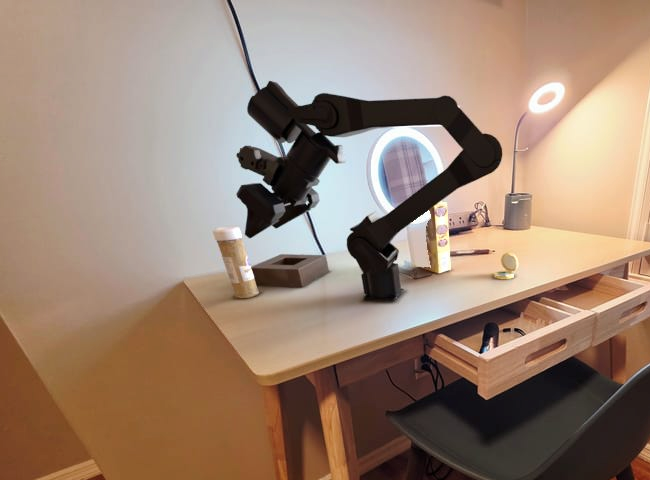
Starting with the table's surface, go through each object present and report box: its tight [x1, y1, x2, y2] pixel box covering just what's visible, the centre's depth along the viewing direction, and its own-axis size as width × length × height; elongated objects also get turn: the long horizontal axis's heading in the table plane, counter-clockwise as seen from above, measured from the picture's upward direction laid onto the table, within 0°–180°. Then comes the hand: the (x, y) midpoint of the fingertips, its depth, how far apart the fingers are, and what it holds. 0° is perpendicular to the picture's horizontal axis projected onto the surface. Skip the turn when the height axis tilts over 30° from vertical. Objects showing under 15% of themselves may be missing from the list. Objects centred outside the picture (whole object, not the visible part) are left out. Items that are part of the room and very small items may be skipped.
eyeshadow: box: [493, 252, 519, 280], centre depth 84 cm, size 4×5×5 cm
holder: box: [251, 253, 330, 288], centre depth 86 cm, size 12×12×4 cm
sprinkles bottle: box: [212, 226, 260, 299], centre depth 74 cm, size 5×5×13 cm
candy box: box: [422, 201, 451, 274], centre depth 88 cm, size 9×4×15 cm, turn 44°
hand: (261, 231), depth 71 cm, fingers open, 9 cm apart
